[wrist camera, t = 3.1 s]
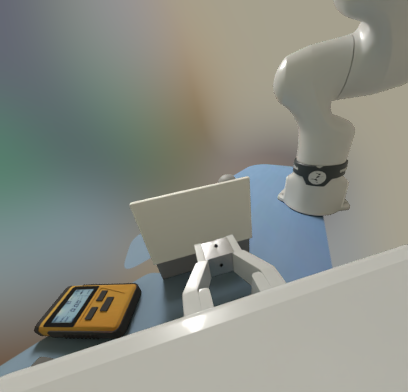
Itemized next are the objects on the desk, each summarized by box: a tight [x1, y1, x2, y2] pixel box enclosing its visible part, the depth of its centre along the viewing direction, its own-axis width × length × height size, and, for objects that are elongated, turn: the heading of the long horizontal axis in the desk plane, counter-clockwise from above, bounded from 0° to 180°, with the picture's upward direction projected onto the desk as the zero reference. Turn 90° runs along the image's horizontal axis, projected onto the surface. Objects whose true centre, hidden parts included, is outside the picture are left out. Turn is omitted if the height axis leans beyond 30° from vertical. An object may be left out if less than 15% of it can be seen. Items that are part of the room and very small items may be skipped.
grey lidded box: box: [156, 239, 249, 279], centre depth 38 cm, size 20×13×6 cm, turn 103°
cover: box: [129, 176, 252, 265], centre depth 28 cm, size 20×13×1 cm
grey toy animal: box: [218, 174, 236, 183], centre depth 57 cm, size 7×12×8 cm, turn 136°
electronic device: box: [34, 283, 141, 339], centre depth 28 cm, size 8×16×3 cm, turn 87°
